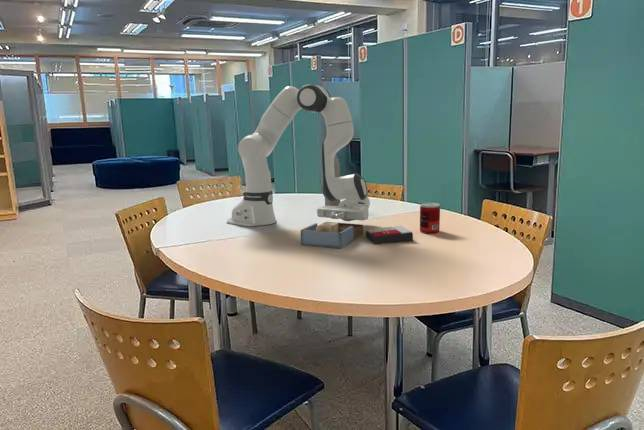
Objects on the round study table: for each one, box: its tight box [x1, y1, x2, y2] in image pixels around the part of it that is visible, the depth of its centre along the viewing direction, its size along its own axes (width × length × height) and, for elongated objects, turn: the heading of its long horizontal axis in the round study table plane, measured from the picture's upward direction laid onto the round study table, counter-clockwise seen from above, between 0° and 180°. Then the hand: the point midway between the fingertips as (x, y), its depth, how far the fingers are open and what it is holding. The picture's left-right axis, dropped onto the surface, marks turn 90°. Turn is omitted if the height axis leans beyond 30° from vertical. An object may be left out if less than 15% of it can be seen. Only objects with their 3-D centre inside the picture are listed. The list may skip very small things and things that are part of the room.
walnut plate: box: [317, 221, 364, 242], centre depth 195 cm, size 16×10×4 cm, turn 64°
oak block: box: [316, 221, 339, 233], centre depth 185 cm, size 5×6×9 cm
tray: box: [300, 222, 354, 249], centre depth 185 cm, size 16×12×6 cm
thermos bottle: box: [324, 153, 341, 206], centre depth 253 cm, size 8×8×28 cm
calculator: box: [365, 225, 414, 245], centre depth 188 cm, size 11×4×15 cm
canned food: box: [419, 202, 441, 235], centre depth 198 cm, size 8×8×11 cm
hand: (334, 216), depth 190 cm, fingers closed
